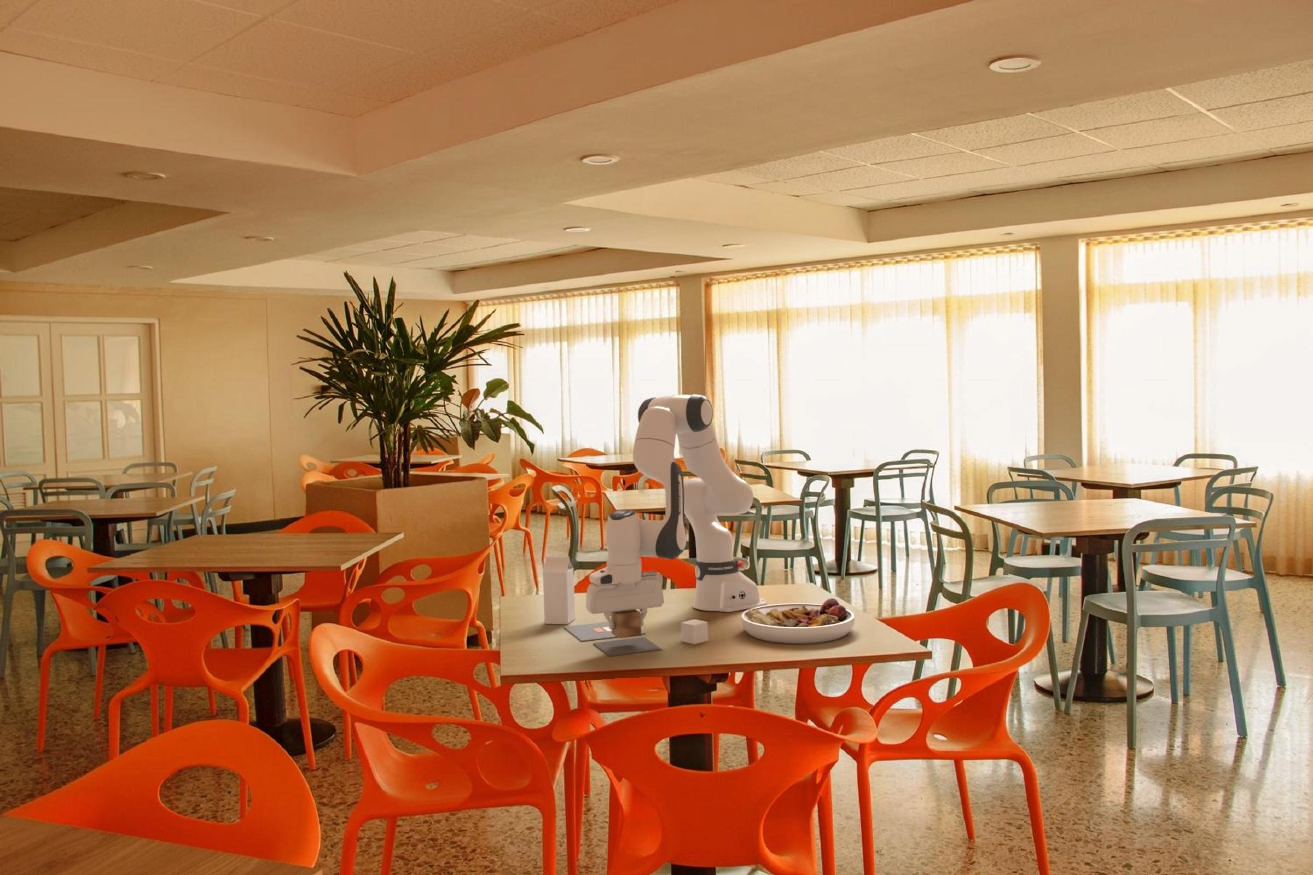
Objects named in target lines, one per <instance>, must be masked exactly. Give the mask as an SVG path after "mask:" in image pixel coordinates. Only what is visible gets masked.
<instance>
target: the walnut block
mask: <svg viewBox="0 0 1313 875" xmlns="http://www.w3.org/2000/svg"><path fill="white" fill-rule="evenodd" d="M610 618H611V620H612V621H614V622H616V629H612V634H613V635H615V636H616V637H617V639H628V638H636V637H642V635H641V630H642V626H641V612H640V610H638V609H636V610H626V611H617V612H612V616H610Z"/></svg>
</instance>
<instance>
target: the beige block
mask: <svg viewBox="0 0 1313 875" xmlns="http://www.w3.org/2000/svg"><path fill="white" fill-rule="evenodd" d="M708 625H709V622H708V621H704V620H700V619H699V620H698V619H695V618H694V619H690V620H689V619H688V620H686V621H681V622H680V641H681V642H683V643H688V644H691V645H697V644H700V643H704V642H705V643H706V642H708V641H709V628H708V627H709V626H708Z"/></svg>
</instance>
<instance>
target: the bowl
mask: <svg viewBox="0 0 1313 875" xmlns="http://www.w3.org/2000/svg"><path fill="white" fill-rule="evenodd" d="M845 607H846V606H844V605H841V604H840V603H839V601H838V600H837V599H835V598H833V597H832V598H827V599H826V600H825V601H824V602H823V603H822V604H820V603H803V602H802V603H794V602H793V603H792V602H791V603H778V604H777V603H776V604H769V605H768V604H767V605H766V606H761V607H755V608H750V609H746V610H745V611H743V612H742V613H741V615H740V621H741V622H740V623H741V625H742V628H743V629H744V631H745V632H747V634H749V635H750V636H752V637H753V638H756V639H759V640H760V641H761V640H762V641H765V642H770V643H779V644H790V645H791V644H795V645H796V644H797V645H801V644H803V645H804V644H817V643H819V644H820V643H826V642H831V641H835V640H838V639H840V638H843V637H845V636H846V635H847V634H849V633H850V632H851V631H852V629H853V627H854V625H855V613H854V612H852V611H851V610H849V609H846V608H845Z"/></svg>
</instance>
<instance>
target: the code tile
mask: <svg viewBox="0 0 1313 875" xmlns="http://www.w3.org/2000/svg"><path fill="white" fill-rule="evenodd" d="M563 628H564V630H566V631H567V632H568V633H569V634H571V635H572V636H574V637H575V638H576V639H577V640H579V641H580V642H581V643H582V642H591V641H592V642H593V641H598V640H599V641H600V640H607V639H618V637H616V636H615V635H613V634H612V629H611V630H610V629H609V622H608V621H604V622H603V621H602V622H596V623H595V622H594V623H586V624H578V625H577V624H576V625H568V626H567V625H565V626H564V627H563ZM642 635H646V632H645V631H643V630H642V629H641V636H642Z"/></svg>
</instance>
